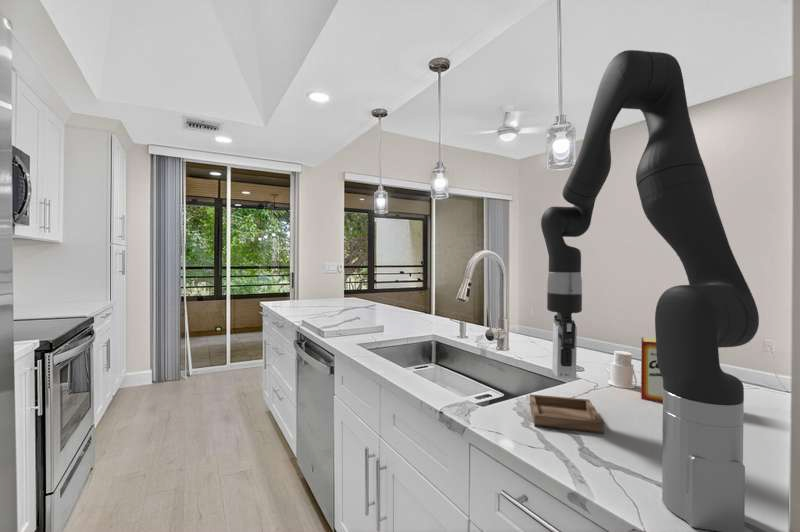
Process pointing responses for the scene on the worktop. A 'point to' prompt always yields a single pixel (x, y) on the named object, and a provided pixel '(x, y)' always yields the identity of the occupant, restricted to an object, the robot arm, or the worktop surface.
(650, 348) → the baking soda box
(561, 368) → the skincare box
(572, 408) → the tray
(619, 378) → the downlight
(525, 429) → the worktop surface
